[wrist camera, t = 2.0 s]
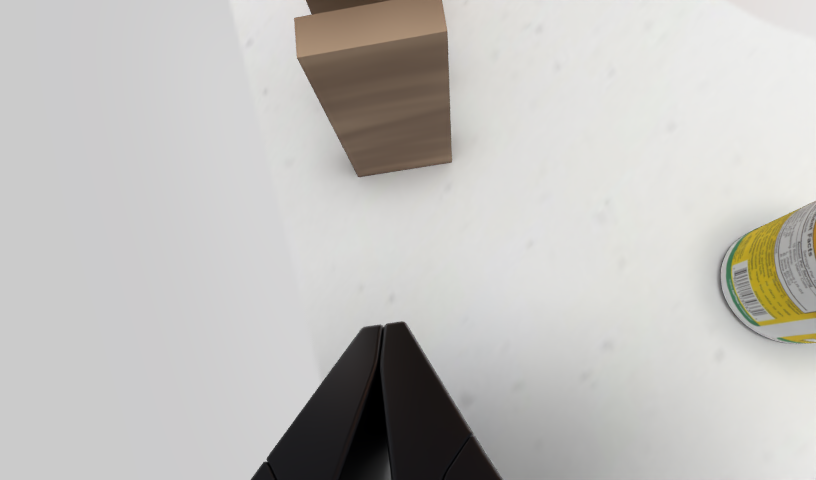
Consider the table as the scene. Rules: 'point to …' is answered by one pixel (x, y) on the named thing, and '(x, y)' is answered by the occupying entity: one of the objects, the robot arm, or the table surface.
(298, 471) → the robot arm
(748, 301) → the supplement bottle
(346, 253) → the table surface
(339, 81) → the domino
